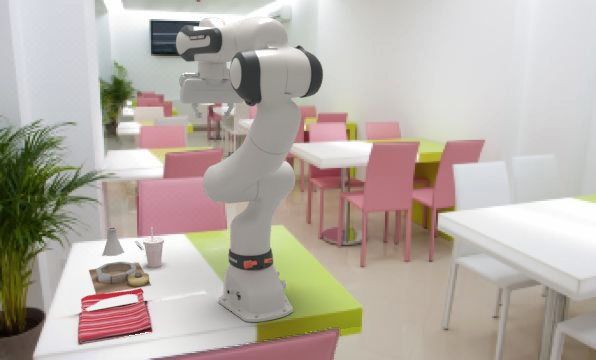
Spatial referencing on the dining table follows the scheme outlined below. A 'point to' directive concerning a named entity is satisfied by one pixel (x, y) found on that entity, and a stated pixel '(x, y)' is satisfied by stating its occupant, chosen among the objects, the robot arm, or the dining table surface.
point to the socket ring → (113, 267)
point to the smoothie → (153, 250)
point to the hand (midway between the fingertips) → (213, 117)
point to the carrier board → (133, 282)
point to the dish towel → (113, 318)
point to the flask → (112, 243)
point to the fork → (139, 244)
